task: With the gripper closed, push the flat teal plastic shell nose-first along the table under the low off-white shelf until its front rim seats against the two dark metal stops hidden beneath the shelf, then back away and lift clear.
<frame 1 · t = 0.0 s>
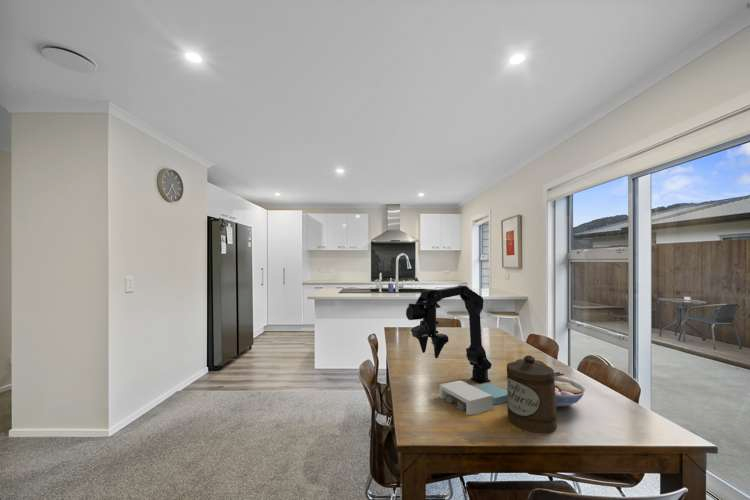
hand: (429, 355, 133), 15 cm above the table, tool pointing down, fingers open, 9 cm apart
ramen bowl: (551, 403, 120), on the table
tin: (530, 377, 148), on the table
shell: (492, 396, 125), on the table
wooden container: (531, 422, 105), on the table
shelf: (464, 403, 119), on the table
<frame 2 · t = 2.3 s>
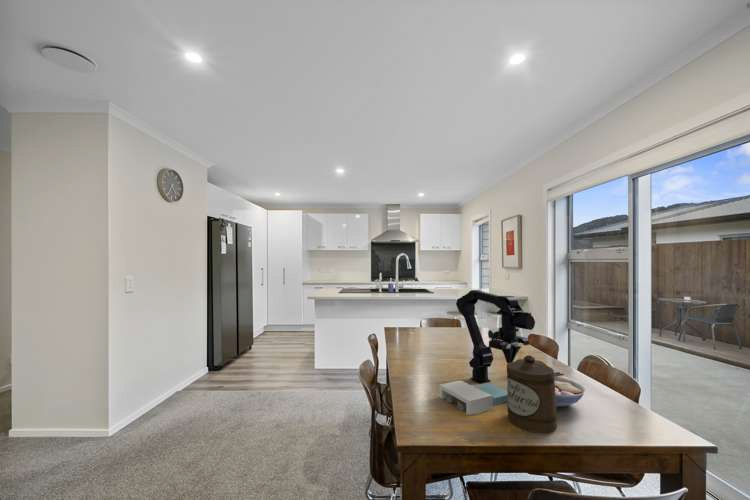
hand: (509, 363, 130), 12 cm above the table, tool pointing down, fingers closed
nothing on the table moved.
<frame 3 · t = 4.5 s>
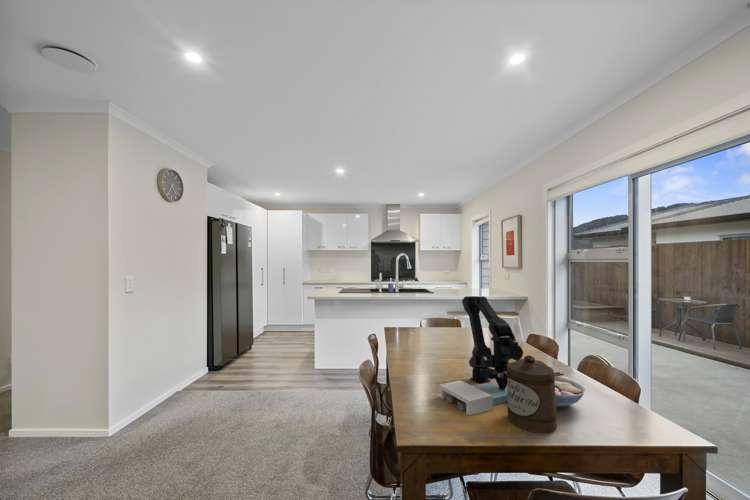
hand: (501, 391, 128), 1 cm above the table, tool pointing down, fingers closed
shell: (491, 396, 125), on the table, touching gripper
everything else where it was.
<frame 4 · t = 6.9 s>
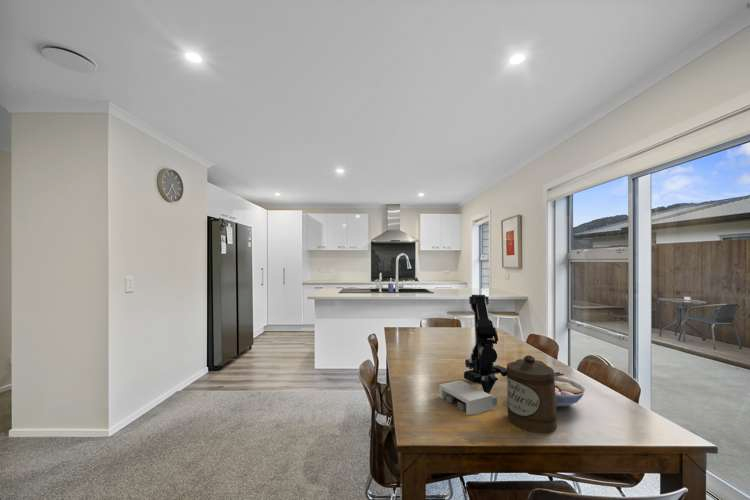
hand: (486, 395, 124), 1 cm above the table, tool pointing down, fingers closed
shell: (475, 400, 121), on the table, touching gripper
everything else where it was.
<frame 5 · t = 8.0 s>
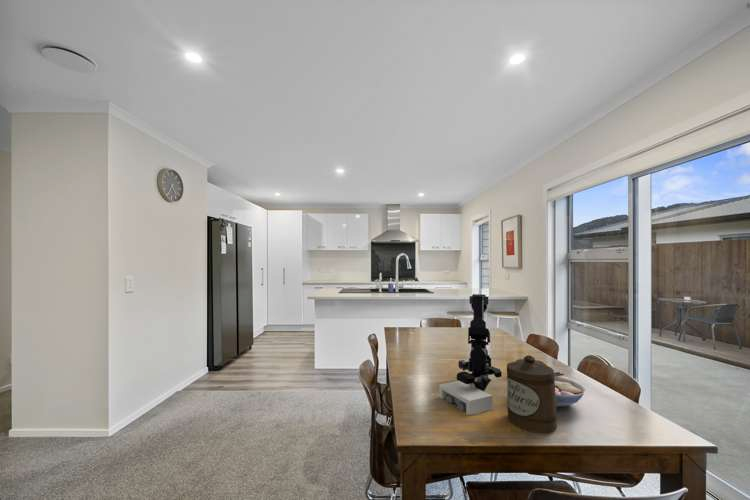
hand: (480, 396, 123), 1 cm above the table, tool pointing down, fingers closed
shell: (468, 402, 120), on the table, touching gripper
everything else where it was.
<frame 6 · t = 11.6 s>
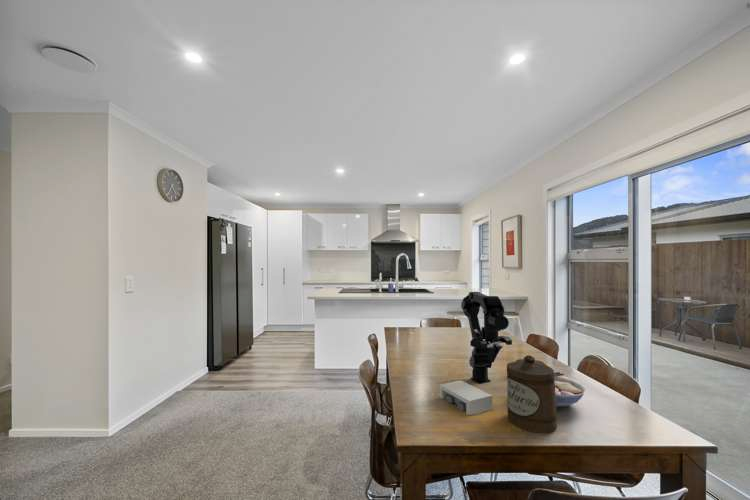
hand: (491, 362, 131), 12 cm above the table, tool pointing down, fingers closed
shell: (468, 402, 120), on the table
everything else where it was.
at the end: shell 0.8 cm from the target spot on the shelf, point 0.0 cm above the shelf's base; shell tilted 0° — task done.
